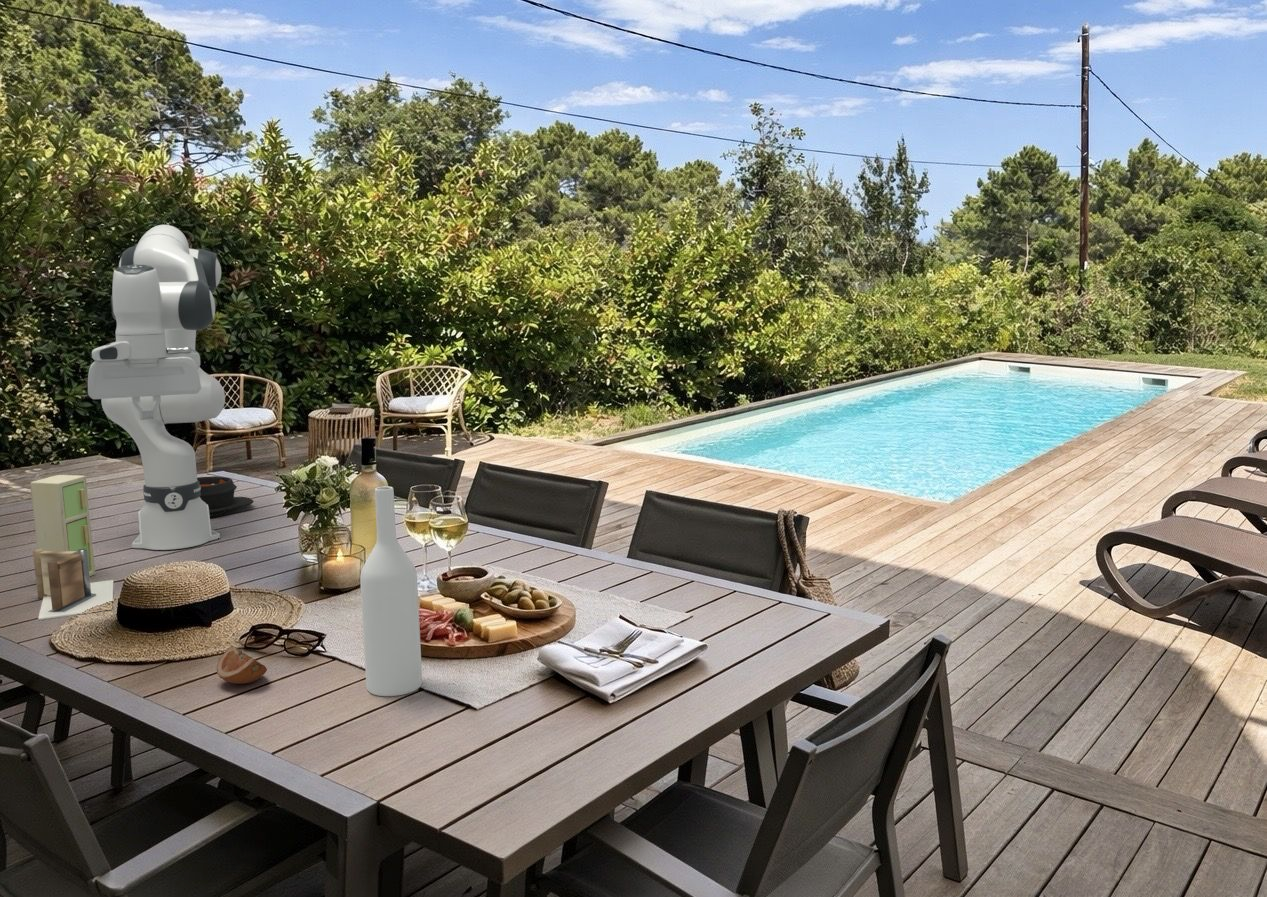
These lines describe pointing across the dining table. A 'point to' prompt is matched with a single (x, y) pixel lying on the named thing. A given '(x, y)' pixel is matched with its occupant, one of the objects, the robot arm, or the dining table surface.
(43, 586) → the fence fixed section
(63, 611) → the board
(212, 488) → the casserole
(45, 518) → the toy refrigerator
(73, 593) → the fence panel
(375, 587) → the bottle
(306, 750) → the dining table surface
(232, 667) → the fruit slice
